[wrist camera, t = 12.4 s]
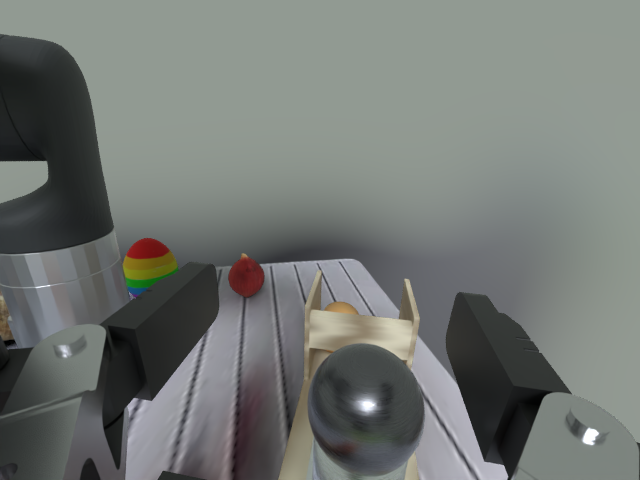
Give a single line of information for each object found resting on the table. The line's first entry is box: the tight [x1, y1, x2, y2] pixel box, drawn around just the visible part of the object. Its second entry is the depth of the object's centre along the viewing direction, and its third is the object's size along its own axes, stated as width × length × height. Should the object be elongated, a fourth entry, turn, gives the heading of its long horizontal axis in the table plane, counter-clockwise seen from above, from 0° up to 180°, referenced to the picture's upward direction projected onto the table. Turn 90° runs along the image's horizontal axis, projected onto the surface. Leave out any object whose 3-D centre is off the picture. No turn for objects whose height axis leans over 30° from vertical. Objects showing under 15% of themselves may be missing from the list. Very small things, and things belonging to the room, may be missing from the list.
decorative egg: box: [123, 238, 178, 297], centre depth 49 cm, size 8×8×10 cm
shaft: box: [306, 343, 425, 480], centre depth 18 cm, size 6×13×16 cm, turn 171°
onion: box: [228, 254, 264, 297], centre depth 50 cm, size 6×6×8 cm
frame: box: [278, 271, 420, 480], centre depth 25 cm, size 11×26×11 cm, turn 171°
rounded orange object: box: [324, 302, 359, 353], centre depth 37 cm, size 5×5×4 cm
